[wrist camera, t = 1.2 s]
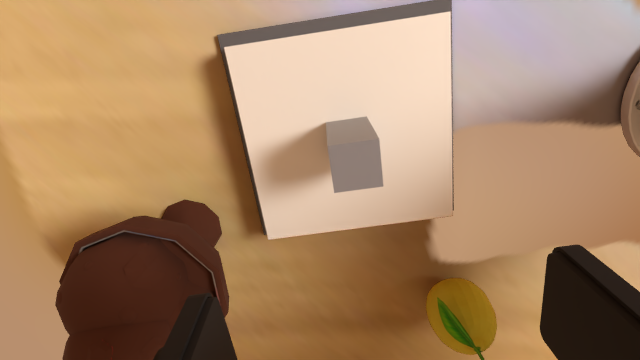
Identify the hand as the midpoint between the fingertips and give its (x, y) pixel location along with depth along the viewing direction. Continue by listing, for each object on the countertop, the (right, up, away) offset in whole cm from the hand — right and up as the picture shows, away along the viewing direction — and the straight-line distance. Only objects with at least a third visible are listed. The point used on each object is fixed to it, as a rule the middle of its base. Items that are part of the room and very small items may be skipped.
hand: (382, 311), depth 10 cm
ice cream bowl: (-13, -1, +23) cm, 27 cm away
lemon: (+11, -7, +25) cm, 28 cm away
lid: (0, +8, +19) cm, 21 cm away
